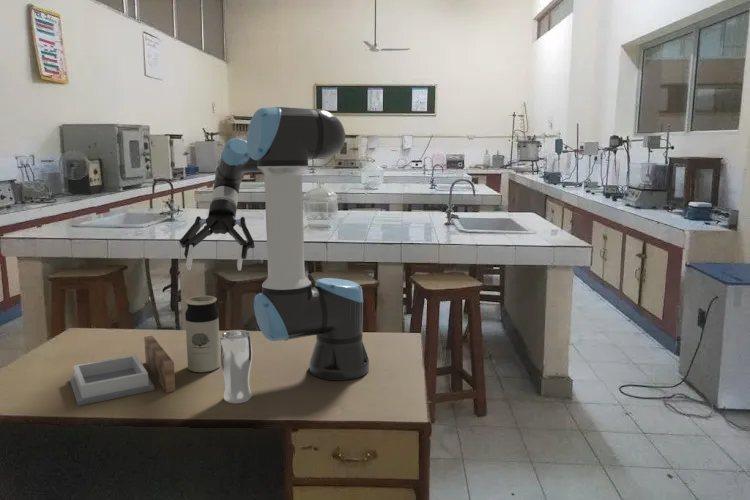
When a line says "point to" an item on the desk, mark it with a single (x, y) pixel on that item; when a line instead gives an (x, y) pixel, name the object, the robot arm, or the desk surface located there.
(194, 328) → the travel mug
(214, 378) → the desk surface
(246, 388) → the beer glass
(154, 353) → the door edge rail
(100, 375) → the socket
